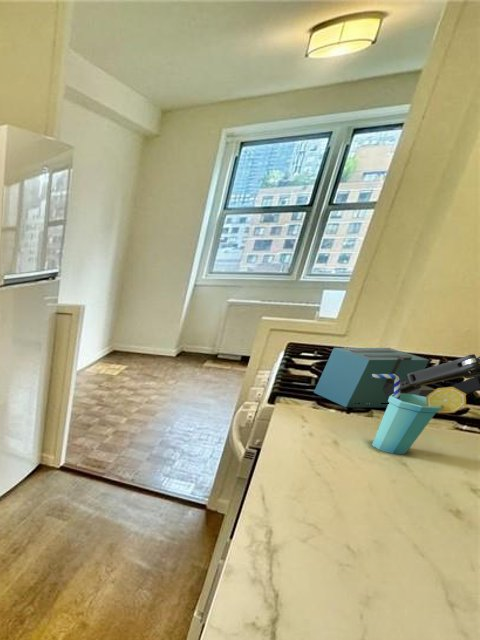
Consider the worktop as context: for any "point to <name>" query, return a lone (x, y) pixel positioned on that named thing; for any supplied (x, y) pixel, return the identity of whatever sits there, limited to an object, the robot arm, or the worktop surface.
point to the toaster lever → (418, 390)
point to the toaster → (364, 375)
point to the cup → (412, 415)
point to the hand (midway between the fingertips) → (415, 394)
